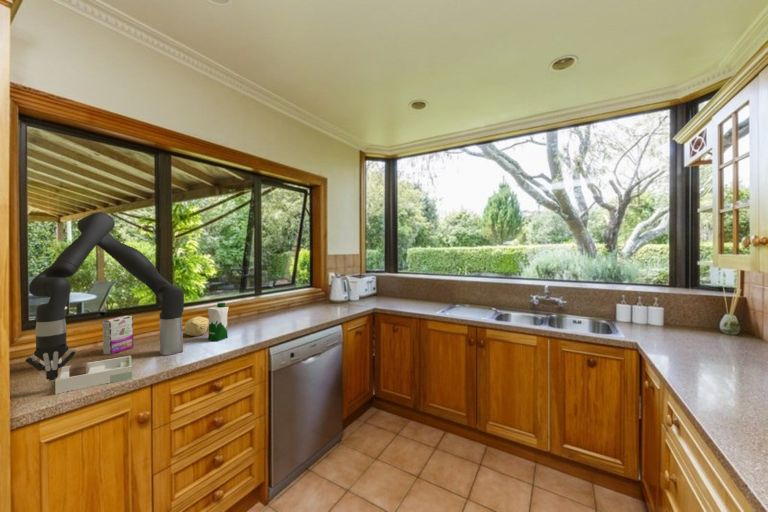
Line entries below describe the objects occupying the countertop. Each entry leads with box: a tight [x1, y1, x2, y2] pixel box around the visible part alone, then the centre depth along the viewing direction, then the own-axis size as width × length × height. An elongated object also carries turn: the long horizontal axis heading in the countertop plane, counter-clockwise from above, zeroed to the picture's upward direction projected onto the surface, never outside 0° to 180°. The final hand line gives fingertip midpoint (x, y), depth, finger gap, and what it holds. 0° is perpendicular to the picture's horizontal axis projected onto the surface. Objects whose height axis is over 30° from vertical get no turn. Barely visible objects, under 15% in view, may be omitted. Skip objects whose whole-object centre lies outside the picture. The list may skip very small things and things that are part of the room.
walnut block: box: [69, 362, 88, 377], centre depth 117 cm, size 4×4×4 cm
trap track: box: [54, 355, 133, 395], centre depth 122 cm, size 21×15×5 cm
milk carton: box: [206, 302, 230, 342], centre depth 176 cm, size 9×9×20 cm
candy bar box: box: [102, 315, 134, 356], centre depth 154 cm, size 11×5×16 cm, turn 168°
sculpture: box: [183, 315, 209, 337], centre depth 183 cm, size 12×12×11 cm
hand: (52, 379), depth 112 cm, fingers closed
